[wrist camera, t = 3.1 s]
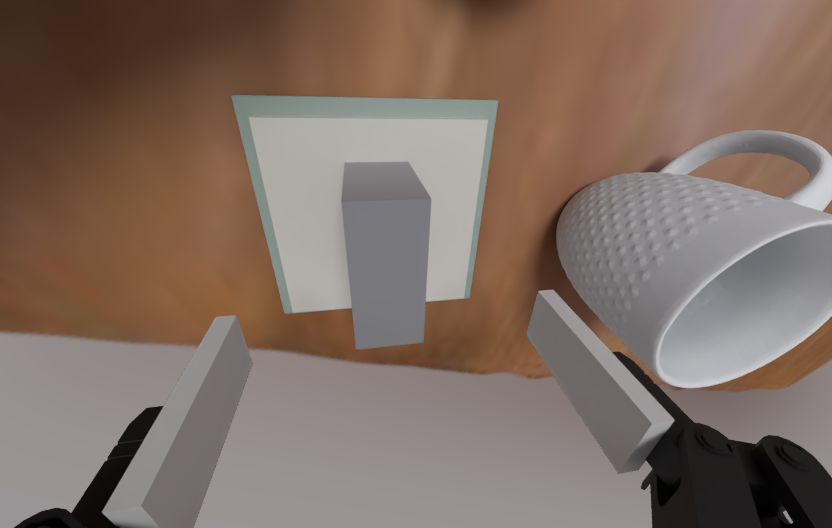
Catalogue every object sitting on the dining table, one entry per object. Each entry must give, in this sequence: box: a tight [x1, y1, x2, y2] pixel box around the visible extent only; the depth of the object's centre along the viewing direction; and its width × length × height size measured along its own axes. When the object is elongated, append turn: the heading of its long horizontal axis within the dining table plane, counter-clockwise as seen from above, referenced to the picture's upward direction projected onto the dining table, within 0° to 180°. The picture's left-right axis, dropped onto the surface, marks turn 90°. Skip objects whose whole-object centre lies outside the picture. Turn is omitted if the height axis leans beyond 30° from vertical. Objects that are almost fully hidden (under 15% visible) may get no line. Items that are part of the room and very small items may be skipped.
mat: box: [231, 95, 498, 314], centre depth 23 cm, size 16×16×1 cm
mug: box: [556, 130, 832, 388], centre depth 21 cm, size 15×11×13 cm
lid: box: [249, 115, 488, 350], centre depth 20 cm, size 14×14×8 cm
